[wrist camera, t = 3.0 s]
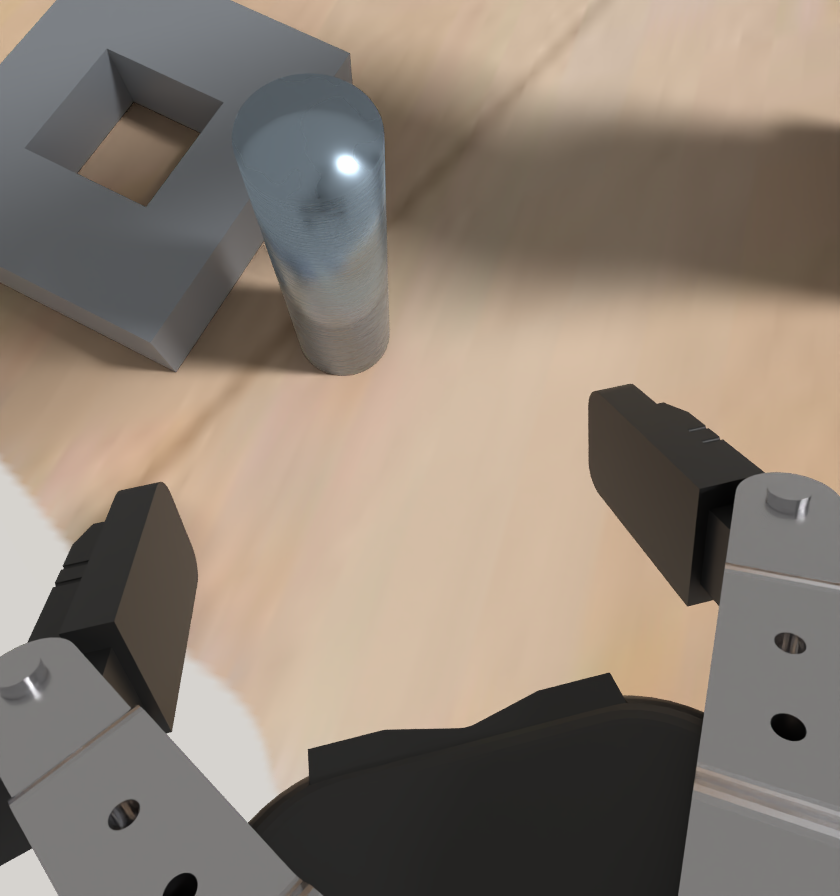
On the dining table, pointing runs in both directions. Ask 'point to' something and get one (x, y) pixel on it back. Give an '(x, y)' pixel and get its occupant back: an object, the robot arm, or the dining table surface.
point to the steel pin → (321, 212)
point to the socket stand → (180, 197)
